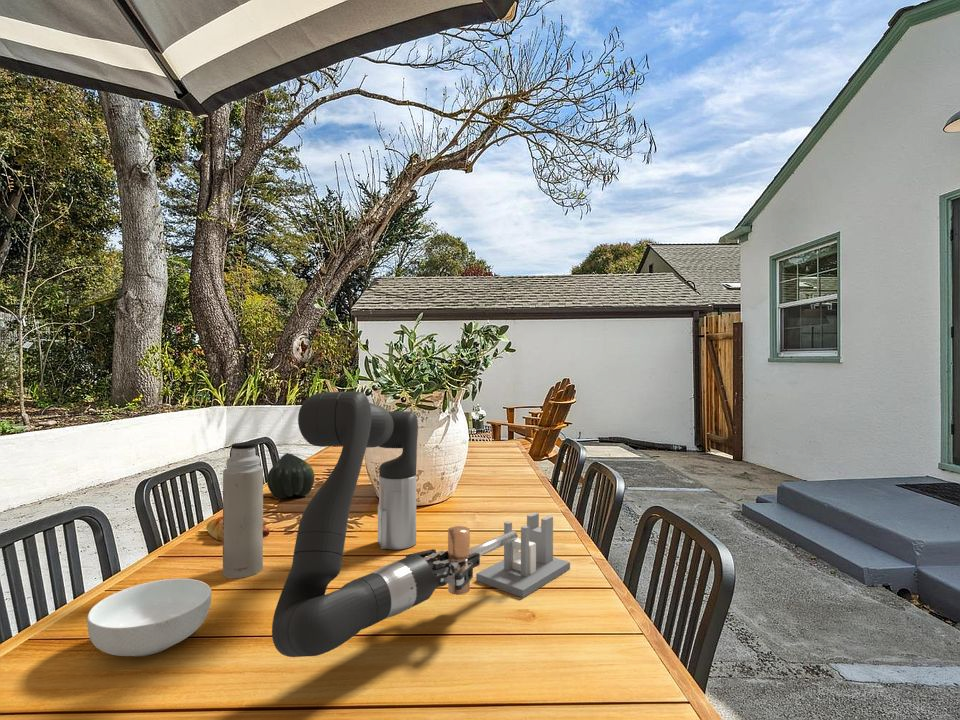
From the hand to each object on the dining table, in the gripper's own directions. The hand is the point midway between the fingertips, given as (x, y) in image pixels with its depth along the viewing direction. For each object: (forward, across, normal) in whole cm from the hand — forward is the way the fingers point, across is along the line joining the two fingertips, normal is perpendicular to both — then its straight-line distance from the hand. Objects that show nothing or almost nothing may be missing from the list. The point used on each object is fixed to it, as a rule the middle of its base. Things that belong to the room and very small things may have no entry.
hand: (468, 555), depth 95 cm
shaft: (+5, 0, +6) cm, 7 cm away
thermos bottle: (-20, +48, +10) cm, 53 cm away
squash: (+19, +97, +10) cm, 100 cm away
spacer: (+17, 0, +8) cm, 19 cm away
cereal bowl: (-43, +31, +10) cm, 54 cm away
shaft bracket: (+18, 0, +10) cm, 21 cm away
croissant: (-11, +71, +10) cm, 73 cm away
